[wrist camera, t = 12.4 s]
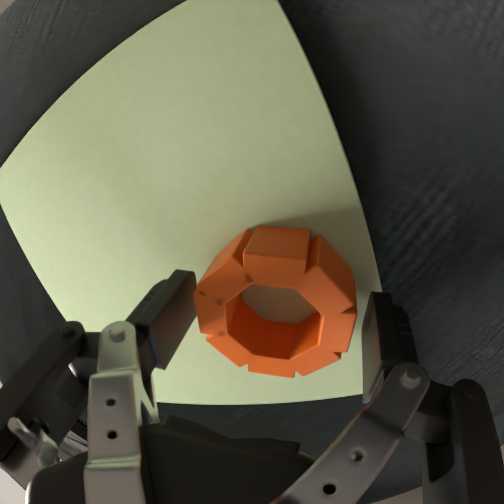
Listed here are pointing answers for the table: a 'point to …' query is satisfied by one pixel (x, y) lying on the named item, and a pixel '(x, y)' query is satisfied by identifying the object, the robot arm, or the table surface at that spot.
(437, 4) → the table surface
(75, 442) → the picture frame
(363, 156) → the table surface
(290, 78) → the mat
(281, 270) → the ring
